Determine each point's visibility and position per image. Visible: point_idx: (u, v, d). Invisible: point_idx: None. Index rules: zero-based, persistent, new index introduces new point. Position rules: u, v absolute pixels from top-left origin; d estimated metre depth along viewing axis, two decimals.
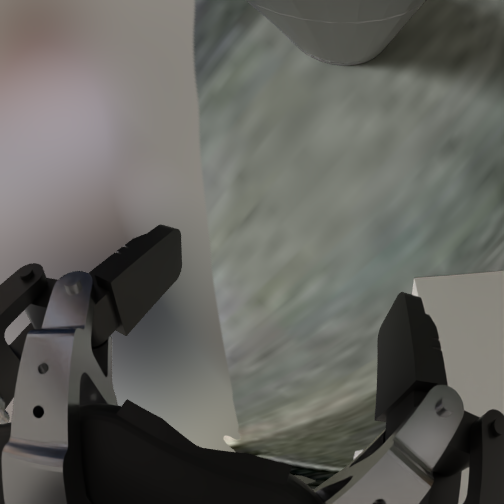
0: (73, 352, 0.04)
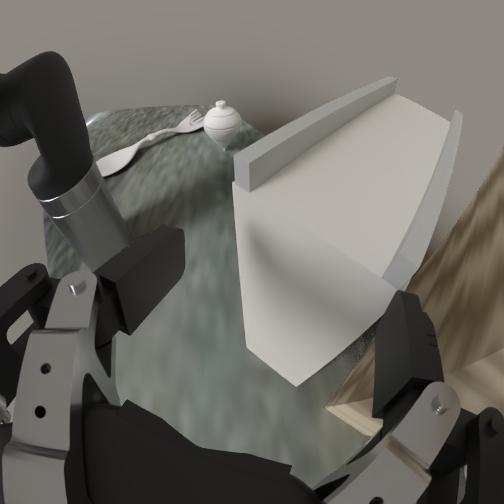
0: (76, 353, 0.04)
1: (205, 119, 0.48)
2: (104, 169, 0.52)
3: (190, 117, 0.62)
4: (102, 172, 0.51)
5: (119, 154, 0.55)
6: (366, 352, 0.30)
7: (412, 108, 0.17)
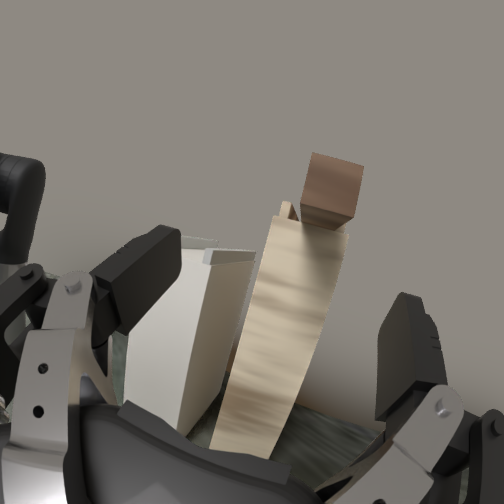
0: (73, 352, 0.04)
1: None
2: None
3: None
4: None
5: None
6: None
7: None
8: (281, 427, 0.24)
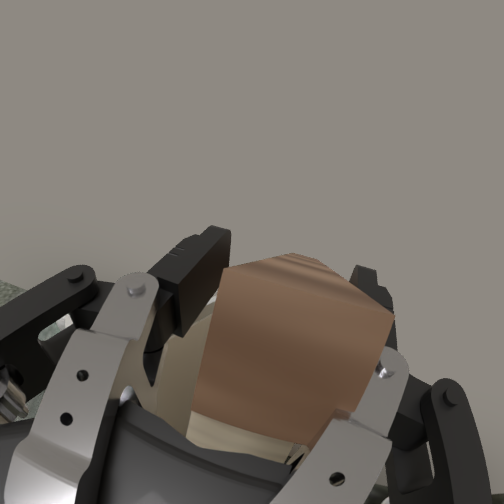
0: (120, 366, 0.04)
1: None
2: None
3: None
4: None
5: None
6: None
7: None
8: None
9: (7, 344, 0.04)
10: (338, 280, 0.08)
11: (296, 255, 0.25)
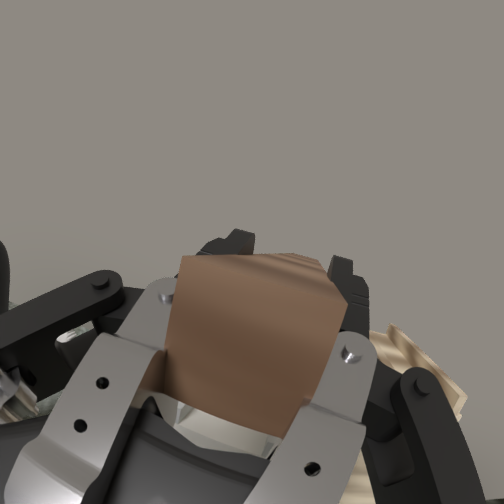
0: (144, 377, 0.04)
1: None
2: None
3: (67, 334, 0.58)
4: None
5: None
6: None
7: None
8: None
9: (21, 346, 0.04)
10: (316, 275, 0.09)
11: (294, 255, 0.25)
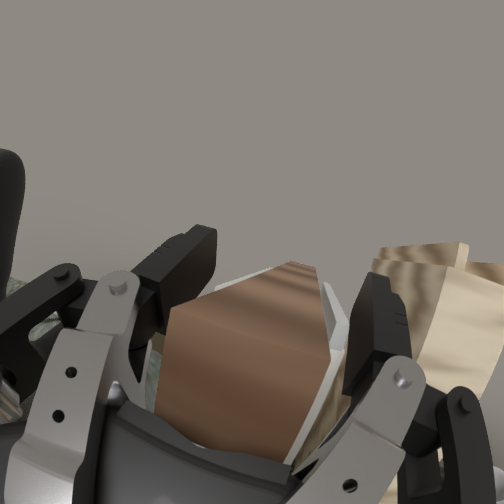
0: (107, 361, 0.04)
1: None
2: None
3: None
4: None
5: None
6: None
7: None
8: None
9: None
10: (308, 305, 0.09)
11: (291, 265, 0.25)
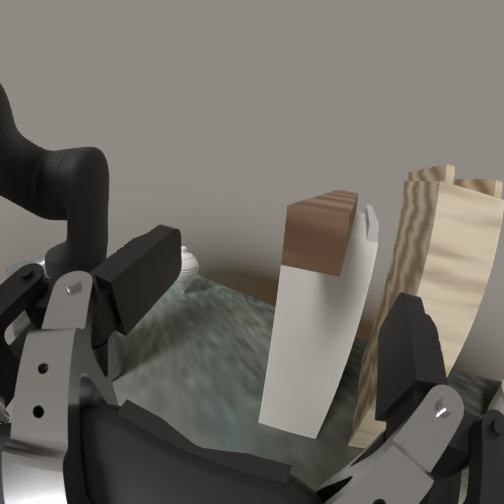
0: (73, 352, 0.04)
1: None
2: None
3: None
4: None
5: None
6: (358, 397, 0.34)
7: None
8: None
9: None
10: (345, 205, 0.16)
11: (338, 192, 0.31)
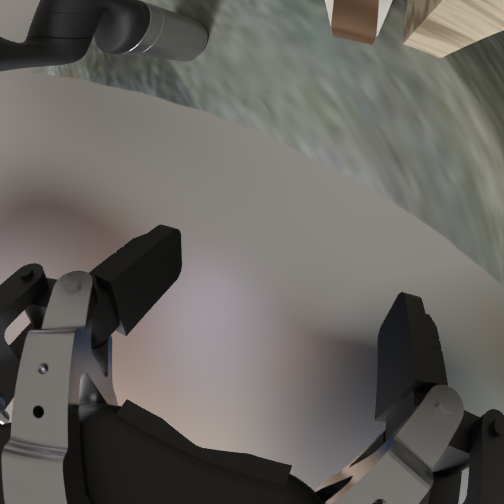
0: (73, 352, 0.04)
1: None
2: None
3: None
4: None
5: None
6: (407, 3, 0.23)
7: None
8: (464, 45, 0.18)
9: None
10: None
11: None
